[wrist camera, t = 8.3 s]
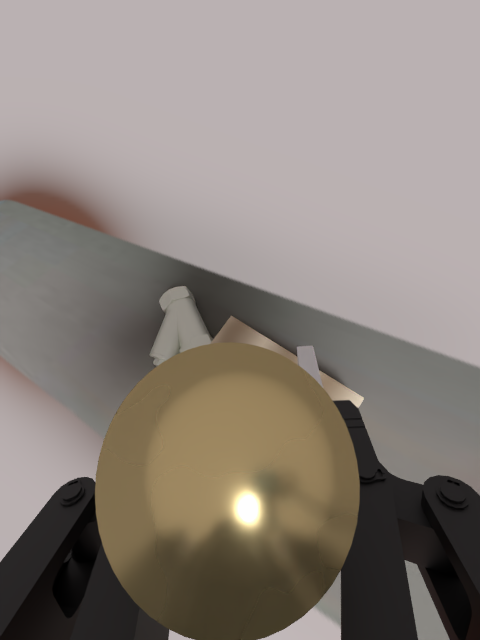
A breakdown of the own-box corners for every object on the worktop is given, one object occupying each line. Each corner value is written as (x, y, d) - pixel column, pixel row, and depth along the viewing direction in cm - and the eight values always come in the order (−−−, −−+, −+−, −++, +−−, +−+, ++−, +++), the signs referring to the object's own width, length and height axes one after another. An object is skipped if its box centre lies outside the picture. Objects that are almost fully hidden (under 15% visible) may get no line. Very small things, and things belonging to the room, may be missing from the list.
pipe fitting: (168, 383, 35) (222, 353, 34) (150, 377, 31) (210, 343, 31) (145, 323, 38) (194, 295, 38) (127, 311, 34) (181, 281, 34)
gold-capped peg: (327, 447, 17) (409, 430, 5) (284, 525, 16) (258, 737, 4) (258, 400, 18) (196, 303, 7) (214, 470, 17) (45, 503, 5)
